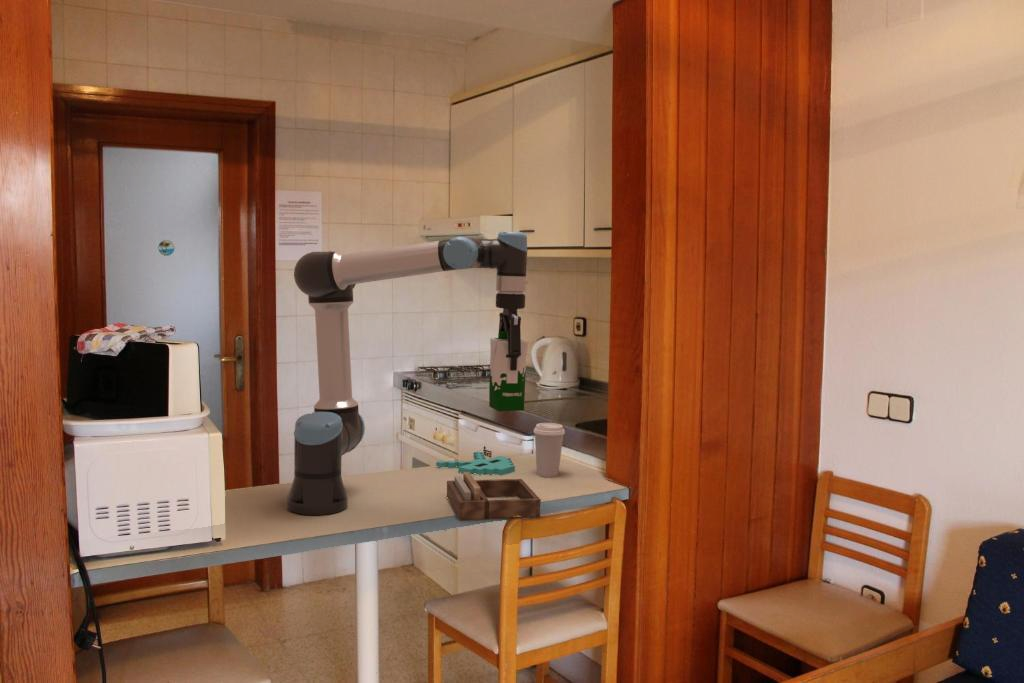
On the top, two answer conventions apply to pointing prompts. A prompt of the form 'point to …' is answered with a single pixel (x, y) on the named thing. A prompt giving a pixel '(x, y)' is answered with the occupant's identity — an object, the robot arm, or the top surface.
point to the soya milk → (500, 391)
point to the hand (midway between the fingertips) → (507, 380)
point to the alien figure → (481, 465)
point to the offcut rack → (496, 508)
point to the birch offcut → (472, 486)
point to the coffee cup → (548, 448)
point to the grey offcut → (462, 488)
